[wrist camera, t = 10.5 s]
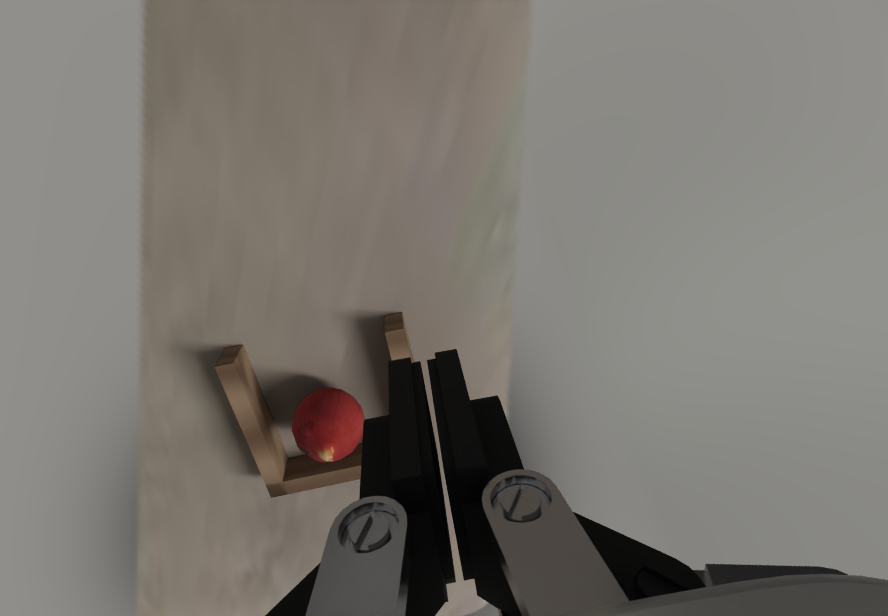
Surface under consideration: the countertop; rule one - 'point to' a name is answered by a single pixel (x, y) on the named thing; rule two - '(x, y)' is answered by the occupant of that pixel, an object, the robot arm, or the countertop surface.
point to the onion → (328, 424)
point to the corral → (262, 430)
